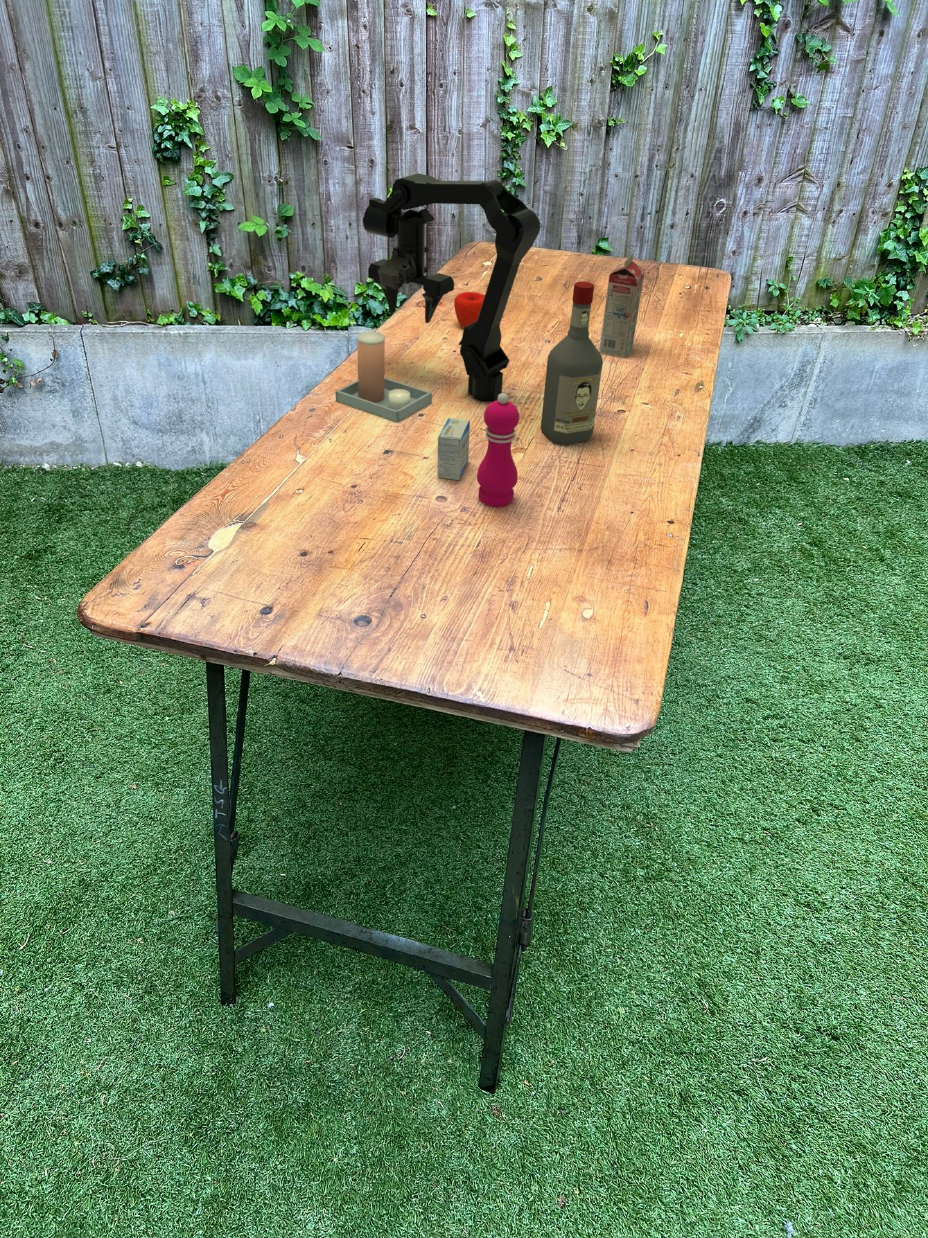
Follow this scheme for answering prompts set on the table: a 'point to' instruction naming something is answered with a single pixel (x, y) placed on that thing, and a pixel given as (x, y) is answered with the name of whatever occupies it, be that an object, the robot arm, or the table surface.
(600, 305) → the table surface
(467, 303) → the apple
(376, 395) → the coffee tin
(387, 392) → the grey shallow tray
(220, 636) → the table surface
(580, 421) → the liquor
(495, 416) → the pepper mill
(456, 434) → the medicine box
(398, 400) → the cream dome ball
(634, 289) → the juice carton
